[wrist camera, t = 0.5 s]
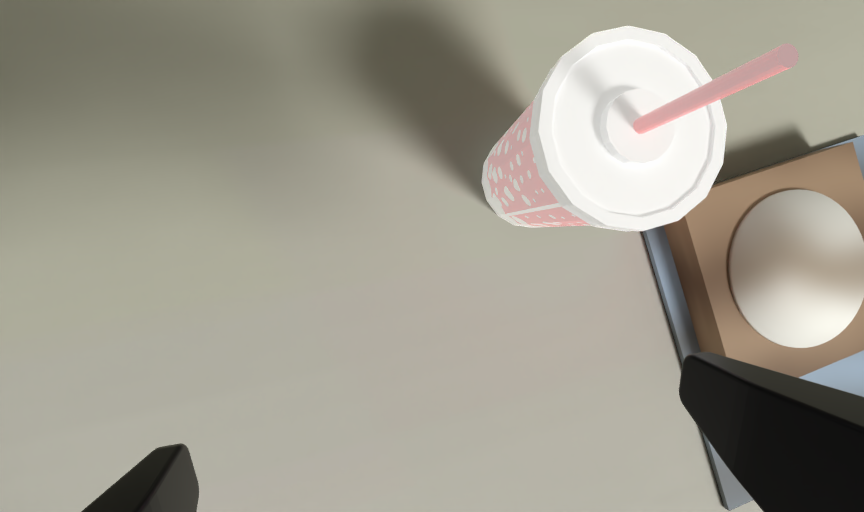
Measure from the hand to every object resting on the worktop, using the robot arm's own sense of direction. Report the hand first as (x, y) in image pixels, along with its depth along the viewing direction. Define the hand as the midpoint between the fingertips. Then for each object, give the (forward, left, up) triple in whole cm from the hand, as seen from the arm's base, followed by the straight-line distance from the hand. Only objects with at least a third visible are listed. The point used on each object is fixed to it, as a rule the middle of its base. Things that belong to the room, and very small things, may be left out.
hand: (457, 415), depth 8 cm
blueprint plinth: (-7, -20, -14) cm, 25 cm away
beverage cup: (+4, -8, -14) cm, 17 cm away
